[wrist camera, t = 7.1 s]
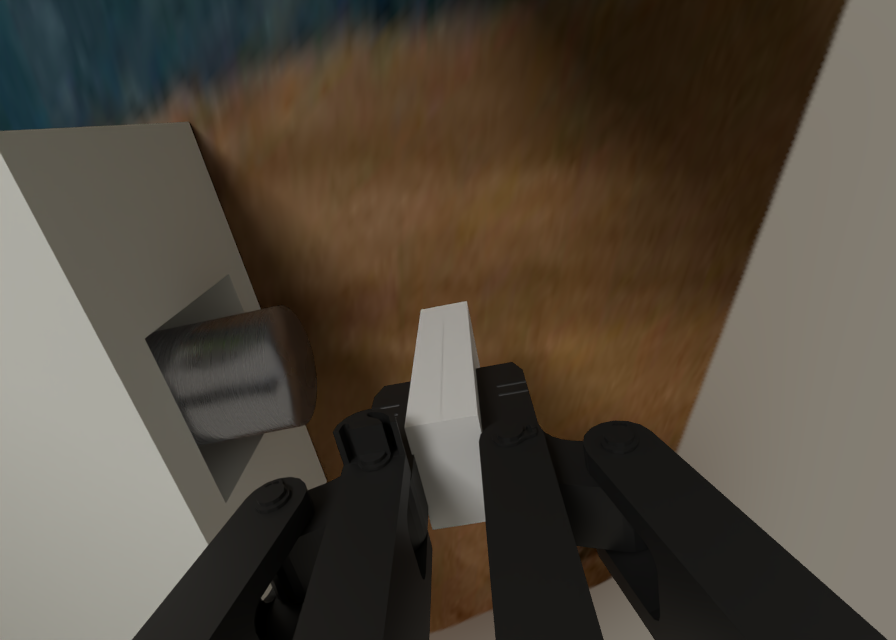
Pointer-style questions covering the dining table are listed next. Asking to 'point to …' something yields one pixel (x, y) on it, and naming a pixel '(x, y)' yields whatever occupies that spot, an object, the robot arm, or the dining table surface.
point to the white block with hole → (111, 378)
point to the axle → (239, 373)
